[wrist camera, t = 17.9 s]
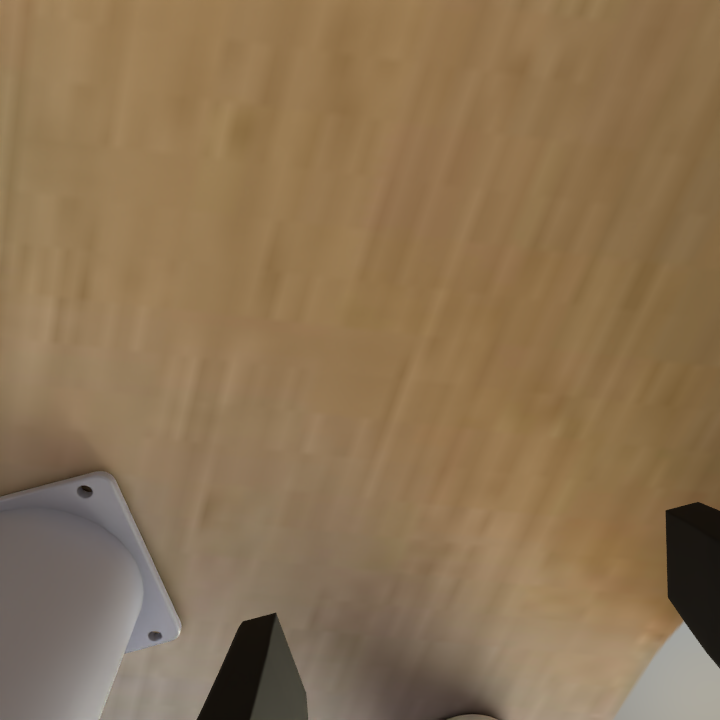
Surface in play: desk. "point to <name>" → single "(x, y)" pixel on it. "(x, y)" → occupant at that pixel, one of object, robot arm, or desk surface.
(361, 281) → the desk surface
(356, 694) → the desk surface
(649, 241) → the desk surface
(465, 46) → the desk surface
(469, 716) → the pill bottle
